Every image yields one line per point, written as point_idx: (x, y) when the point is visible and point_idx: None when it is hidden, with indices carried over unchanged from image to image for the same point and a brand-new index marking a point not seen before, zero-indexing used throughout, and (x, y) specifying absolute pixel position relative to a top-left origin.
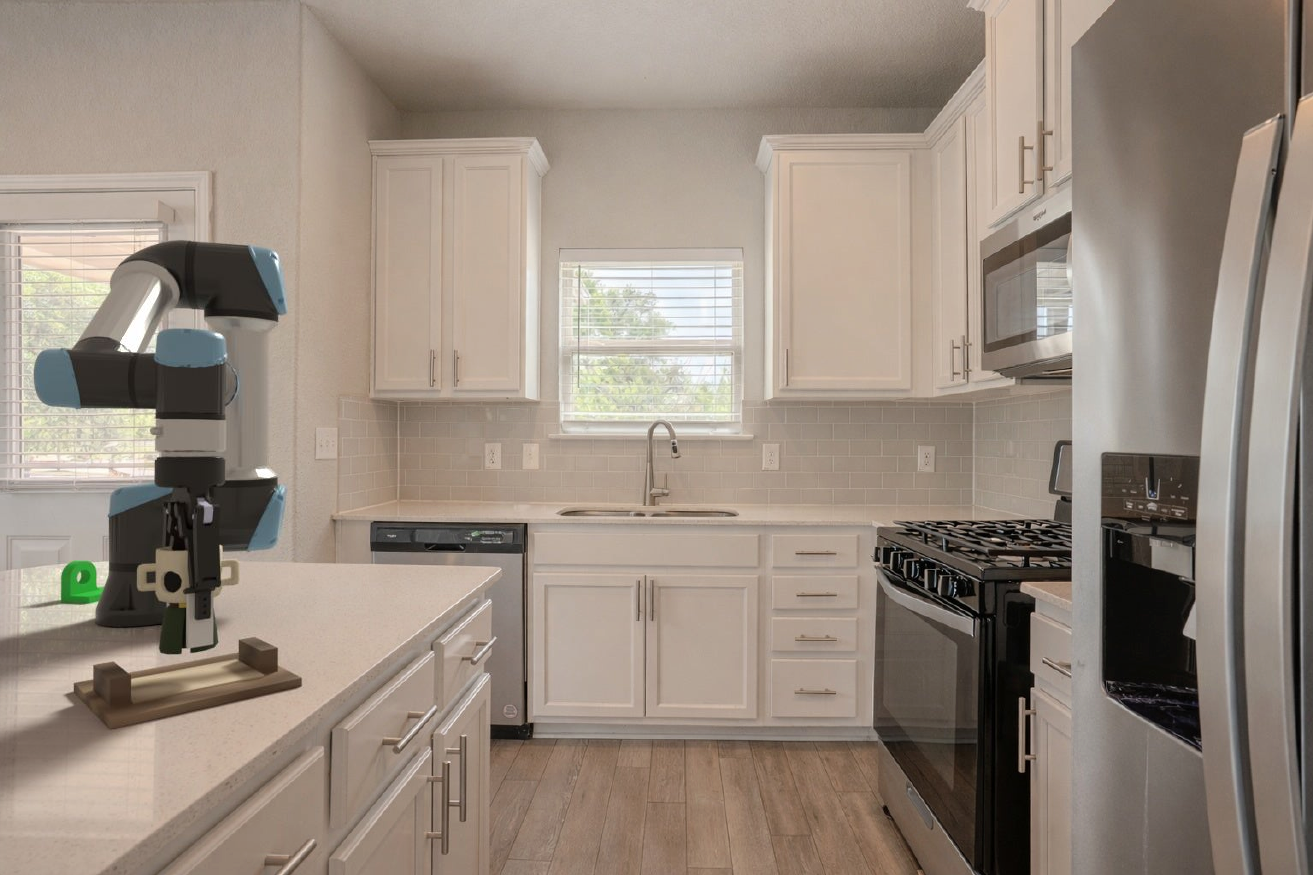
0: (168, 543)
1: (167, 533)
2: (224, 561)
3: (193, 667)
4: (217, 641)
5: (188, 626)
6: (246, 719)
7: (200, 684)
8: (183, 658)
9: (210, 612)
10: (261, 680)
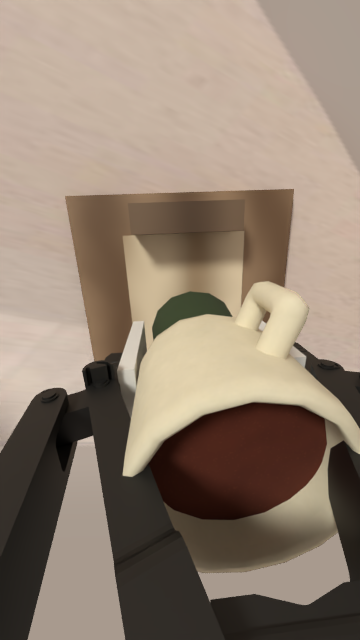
0: (44, 543)
1: (31, 619)
2: (289, 349)
3: (131, 298)
4: (212, 295)
5: None
6: (349, 290)
7: None
8: (10, 282)
9: (300, 346)
10: (260, 241)
